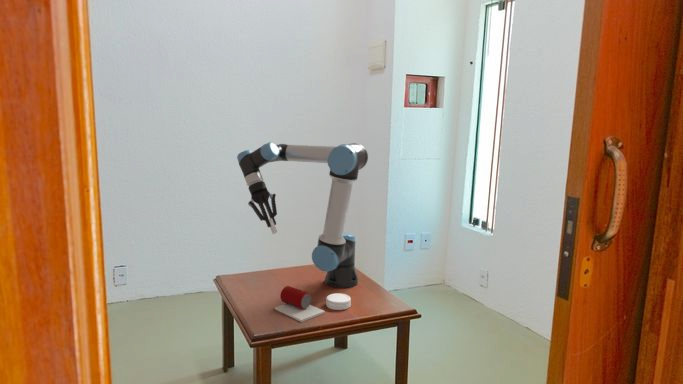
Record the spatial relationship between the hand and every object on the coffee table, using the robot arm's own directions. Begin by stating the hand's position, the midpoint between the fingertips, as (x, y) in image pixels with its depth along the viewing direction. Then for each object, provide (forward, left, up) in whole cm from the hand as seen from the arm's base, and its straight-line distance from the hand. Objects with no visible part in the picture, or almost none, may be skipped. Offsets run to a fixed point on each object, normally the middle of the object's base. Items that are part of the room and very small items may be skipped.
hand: (275, 232), depth 213 cm
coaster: (-24, +25, -25) cm, 43 cm away
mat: (-8, +29, -24) cm, 39 cm away
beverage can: (-3, +21, -20) cm, 29 cm away
